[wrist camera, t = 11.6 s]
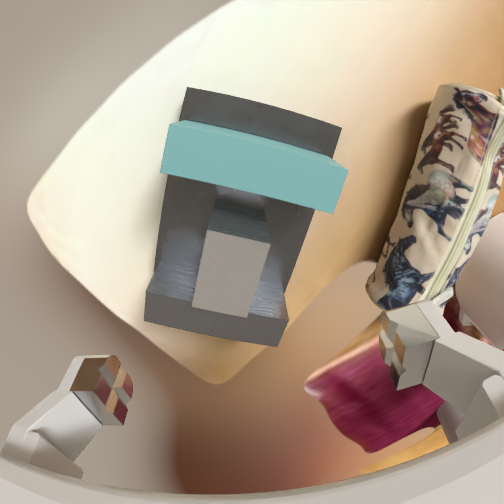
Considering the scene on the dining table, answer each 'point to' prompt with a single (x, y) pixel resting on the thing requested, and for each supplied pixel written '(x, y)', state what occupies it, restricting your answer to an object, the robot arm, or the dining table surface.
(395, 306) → the pencil case
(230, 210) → the steel block
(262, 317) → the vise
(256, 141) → the bar
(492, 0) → the dining table surface
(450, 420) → the cup
